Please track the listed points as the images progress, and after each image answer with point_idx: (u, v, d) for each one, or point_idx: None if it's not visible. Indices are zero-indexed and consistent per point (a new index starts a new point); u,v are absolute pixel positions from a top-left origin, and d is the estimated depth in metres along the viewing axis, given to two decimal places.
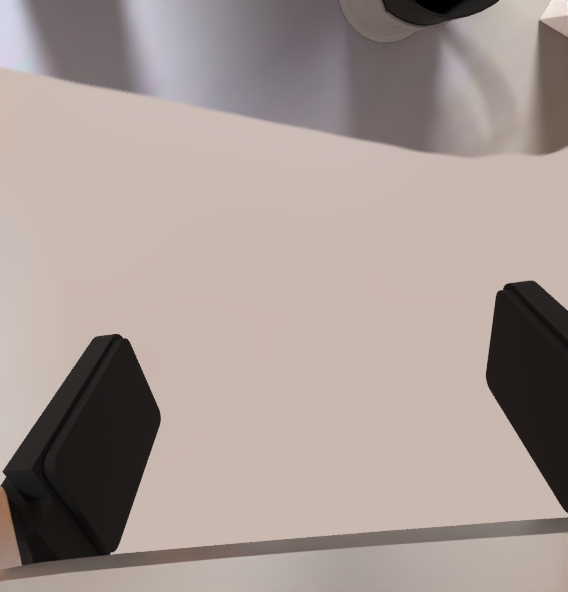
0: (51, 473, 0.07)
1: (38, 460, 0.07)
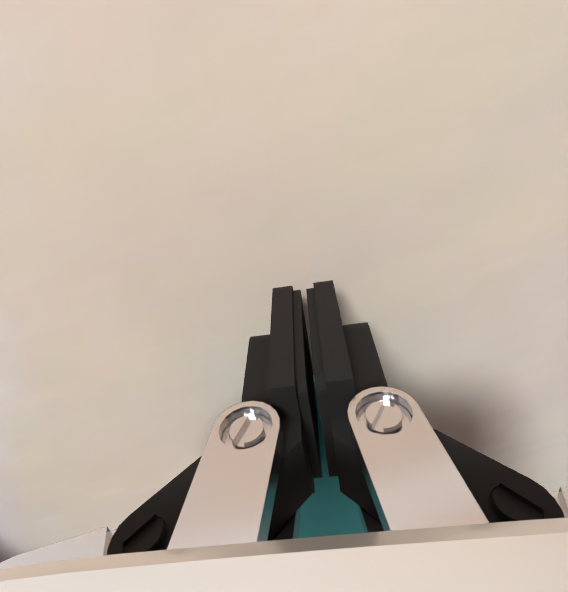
0: (300, 393, 0.08)
1: (292, 380, 0.08)
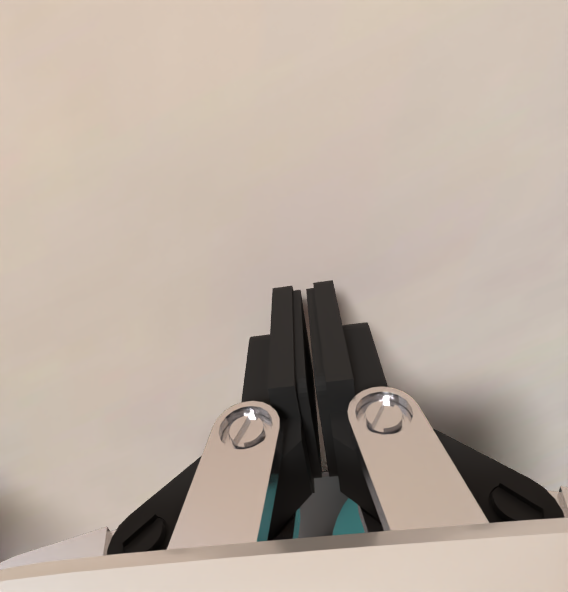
0: (300, 393, 0.08)
1: (292, 380, 0.08)
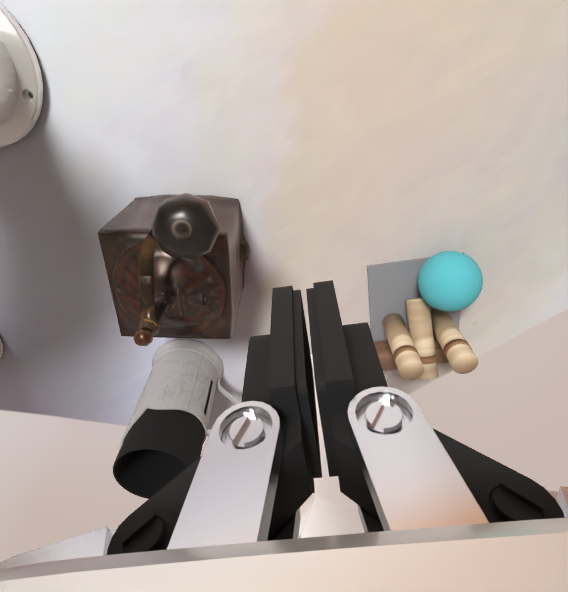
0: (300, 394, 0.08)
1: (292, 381, 0.08)
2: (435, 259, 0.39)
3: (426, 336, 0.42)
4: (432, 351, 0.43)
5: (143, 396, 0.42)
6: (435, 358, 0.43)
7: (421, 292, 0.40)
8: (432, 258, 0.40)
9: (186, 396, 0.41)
